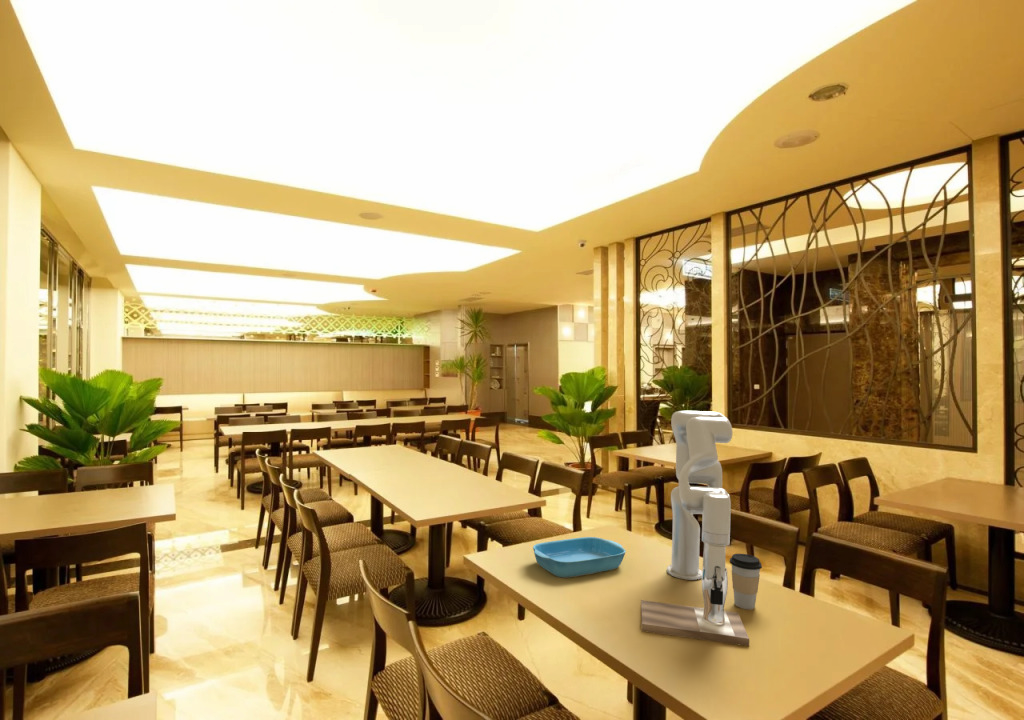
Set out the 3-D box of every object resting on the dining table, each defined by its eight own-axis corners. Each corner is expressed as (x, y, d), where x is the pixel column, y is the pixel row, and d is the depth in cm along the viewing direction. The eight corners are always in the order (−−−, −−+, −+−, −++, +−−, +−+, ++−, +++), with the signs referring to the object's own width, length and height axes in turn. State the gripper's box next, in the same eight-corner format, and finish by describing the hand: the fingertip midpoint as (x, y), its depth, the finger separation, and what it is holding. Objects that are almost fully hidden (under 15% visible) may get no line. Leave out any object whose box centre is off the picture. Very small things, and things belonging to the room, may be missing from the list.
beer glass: (728, 627, 147) (730, 573, 147) (702, 624, 149) (704, 571, 149) (724, 616, 154) (725, 564, 154) (699, 613, 155) (700, 562, 156)
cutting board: (641, 606, 163) (641, 599, 163) (737, 619, 157) (737, 612, 157) (641, 630, 148) (642, 623, 148) (749, 646, 142) (749, 638, 142)
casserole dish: (598, 550, 215) (599, 532, 215) (637, 569, 195) (637, 550, 195) (520, 563, 197) (521, 544, 197) (554, 586, 177) (555, 564, 177)
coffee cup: (760, 602, 169) (761, 555, 170) (761, 614, 161) (762, 565, 161) (729, 596, 173) (730, 550, 173) (727, 607, 165) (728, 559, 165)
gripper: (698, 526, 161) (696, 583, 161) (705, 545, 144) (703, 608, 144) (724, 529, 159) (722, 586, 159) (735, 548, 142) (733, 612, 142)
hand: (713, 596), depth 151 cm, fingers open, 9 cm apart
